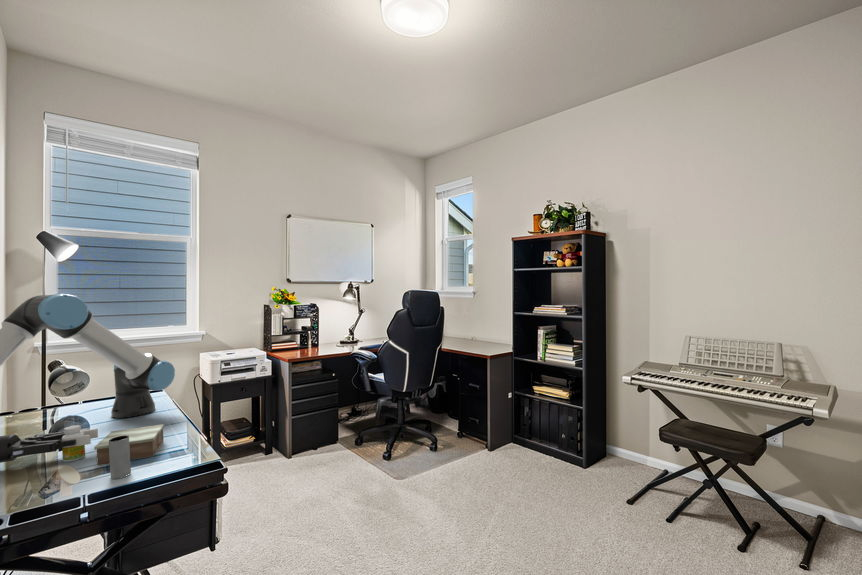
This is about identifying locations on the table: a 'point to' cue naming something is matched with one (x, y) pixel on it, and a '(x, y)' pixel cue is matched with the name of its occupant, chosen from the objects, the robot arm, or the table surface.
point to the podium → (133, 442)
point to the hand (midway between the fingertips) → (93, 436)
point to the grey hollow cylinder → (119, 457)
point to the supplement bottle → (75, 451)
